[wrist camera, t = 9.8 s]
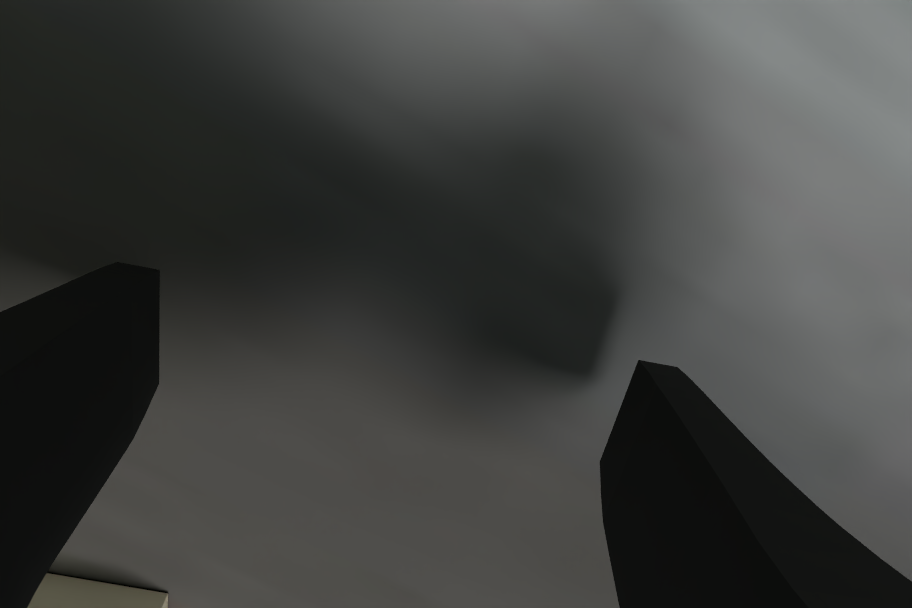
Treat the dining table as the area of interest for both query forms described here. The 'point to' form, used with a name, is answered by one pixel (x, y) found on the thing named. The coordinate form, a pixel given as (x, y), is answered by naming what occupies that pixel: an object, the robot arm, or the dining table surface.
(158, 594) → the wooden peg rack base
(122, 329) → the robot arm
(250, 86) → the dining table surface
